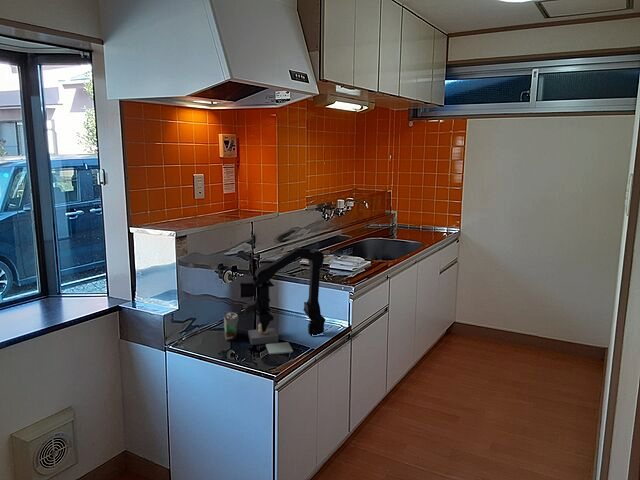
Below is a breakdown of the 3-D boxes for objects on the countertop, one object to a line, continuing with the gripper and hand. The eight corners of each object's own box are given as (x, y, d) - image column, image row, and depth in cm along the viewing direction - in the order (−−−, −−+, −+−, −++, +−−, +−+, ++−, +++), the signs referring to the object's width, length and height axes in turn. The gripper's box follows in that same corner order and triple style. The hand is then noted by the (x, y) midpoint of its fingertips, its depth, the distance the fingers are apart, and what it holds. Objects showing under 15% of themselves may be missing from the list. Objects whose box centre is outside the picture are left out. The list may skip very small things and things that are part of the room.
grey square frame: (274, 334, 228) (274, 328, 228) (278, 342, 219) (278, 336, 218) (248, 336, 225) (248, 330, 225) (251, 344, 216) (251, 338, 215)
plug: (266, 337, 225) (266, 322, 223) (268, 340, 221) (268, 325, 220) (257, 338, 224) (257, 323, 222) (259, 341, 220) (259, 326, 218)
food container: (240, 340, 220) (240, 319, 219) (226, 342, 219) (226, 320, 217) (237, 331, 232) (236, 310, 230) (223, 332, 230) (223, 311, 228)
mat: (288, 343, 218) (288, 342, 218) (293, 352, 209) (293, 351, 209) (265, 345, 216) (265, 344, 215) (269, 354, 206) (269, 353, 206)
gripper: (241, 291, 225) (242, 324, 228) (247, 303, 208) (247, 339, 210) (266, 289, 228) (266, 322, 231) (273, 302, 211) (273, 336, 213)
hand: (263, 329), depth 221 cm, fingers closed on plug, 4 cm apart
